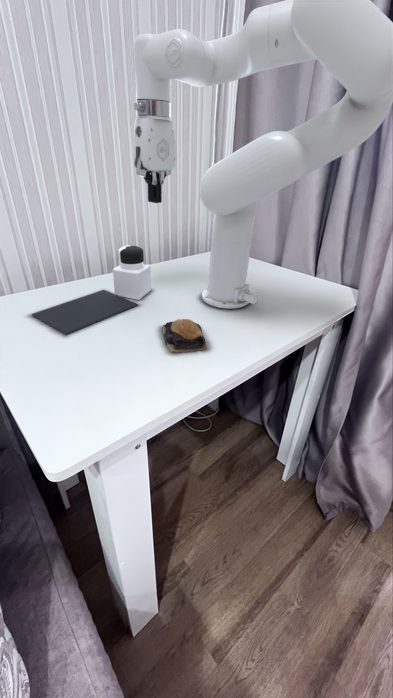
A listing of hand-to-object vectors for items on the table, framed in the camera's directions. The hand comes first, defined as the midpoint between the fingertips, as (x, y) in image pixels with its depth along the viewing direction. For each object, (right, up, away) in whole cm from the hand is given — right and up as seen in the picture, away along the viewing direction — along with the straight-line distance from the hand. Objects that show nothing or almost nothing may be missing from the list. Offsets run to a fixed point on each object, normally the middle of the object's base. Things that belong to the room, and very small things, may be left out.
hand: (154, 202), depth 82 cm
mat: (-15, -28, -5) cm, 32 cm away
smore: (+8, -35, -13) cm, 38 cm away
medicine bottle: (-6, -22, +5) cm, 24 cm away
